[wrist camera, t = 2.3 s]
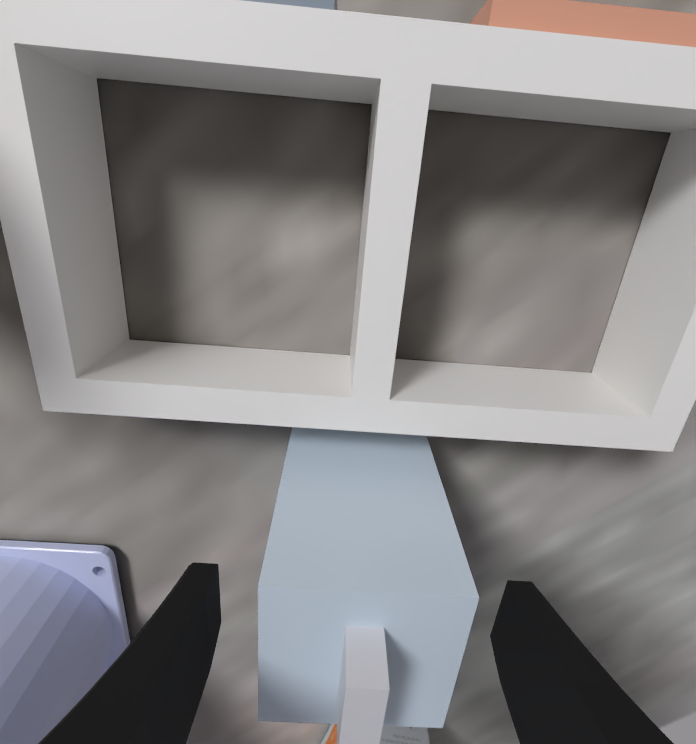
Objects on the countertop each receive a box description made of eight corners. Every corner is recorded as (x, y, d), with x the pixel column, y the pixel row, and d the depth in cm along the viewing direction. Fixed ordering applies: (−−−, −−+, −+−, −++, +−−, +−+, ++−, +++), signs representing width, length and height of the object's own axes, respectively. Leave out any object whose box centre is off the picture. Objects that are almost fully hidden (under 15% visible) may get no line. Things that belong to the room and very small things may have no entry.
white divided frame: (611, 401, 15) (672, 451, 12) (101, 366, 14) (43, 410, 11) (732, 64, 11) (862, 25, 8) (43, -6, 10) (-66, -75, 8)
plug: (405, 520, 17) (454, 792, 9) (291, 514, 17) (248, 785, 9) (421, 421, 15) (498, 658, 8) (295, 413, 15) (245, 646, 7)
